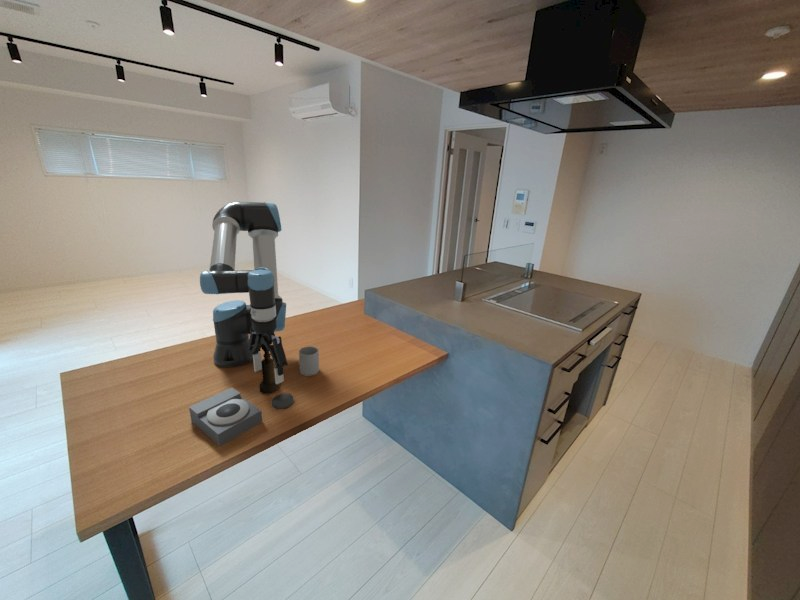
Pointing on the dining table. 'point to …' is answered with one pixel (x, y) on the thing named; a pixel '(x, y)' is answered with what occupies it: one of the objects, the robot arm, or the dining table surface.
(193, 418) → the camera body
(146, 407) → the dining table surface
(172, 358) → the dining table surface
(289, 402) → the dark grey dome
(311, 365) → the cup
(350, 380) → the dining table surface
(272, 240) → the robot arm
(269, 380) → the brown wooden pepper mill
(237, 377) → the dining table surface
